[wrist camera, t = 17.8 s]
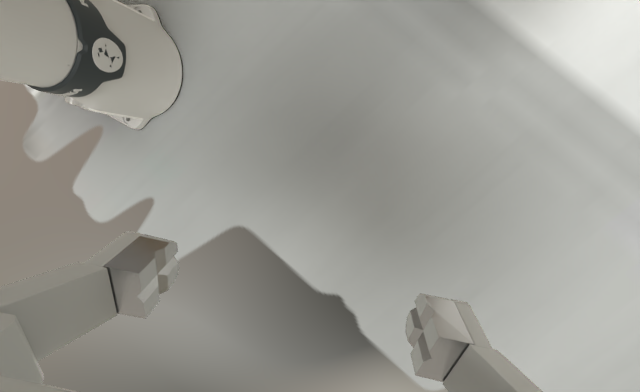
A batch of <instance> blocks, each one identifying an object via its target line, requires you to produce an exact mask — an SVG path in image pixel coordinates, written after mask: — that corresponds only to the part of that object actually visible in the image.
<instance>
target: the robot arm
mask: <svg viewBox="0 0 640 392" xmlns="http://www.w3.org/2000/svg"><path fill="white" fill-rule="evenodd" d="M0 80H2V81H8V82H14V83H20V84H25V85H28V86H30V87H31V88H33V89H36V90H39V91H43V92H46V93H50V94H53V95H58V96H65V102H67V103H69V104H72V105H75V106H80V108H82V109H85V110H89V111H93V112H97V113H103V114H106V115H108V116H110V117H112V118H114V119H115V120H117V121H119V122H121V123H123V124H125V125H126V126H128V127H130V128H132V129H137V130H140V129H142V128H143V127H144V126H145V125H146V124H147V123H148V121H149V120H150V119H151V118H153V117H155V116H157V115H159V114H161V113H163V112H165V111H166V110H167V109H168V108H169V107H170V106H171V105H172V104H173V102H174V101H175V99H176V97H177V95H178V92H179V90H180V86H181V81H182V65H181V59H180V55H179V52H178V50H177V47H176V45H175V44H174V42H173V40H172V39H171V37H170V36H169V35H168V34H167V33H166V31H165V30H164V29H163V27H162V26H161V23H160V20H159V17H158V15H157V12H156V11H155V9H154V8H153V7H151V6H149V5H146V4H134V5H125V4H123V3H121V2H119V1H117V0H0ZM177 252H178V247H177V243H176V242H174V241H171V240H167V239H162V238H158V237H154V236H150V235H146V234H145V235H144V234H140V233H136V232H131V231H129V232H125V233H123V234H122V235H120V236H119V237H118V238H117V239H115V240H114V241H112V242H111V243H110V244H108V245H107V246H106V247H104V248H103V249H102V250H100V251H99V252H98V253H96V254H95V255H94V256H92V257H91V258H90V259H88V260H87V261H86V262H85V263H82V262H77V263H73V264H70V265H67V266H64V267H61V268H58V269H55V270H51V271H48V272H45V273H42V274H39V275H36V276H33V277H30V278H26V279H23V280H20V281H17V282H14V283H11V284H7V285H4V286H1V287H0V392H78V391H73V390H68V389H63V388H58V387H54V386H49V385H43V384H41V383H42V382H43V381H44V374H43V372H42V370H41V368H40V366H39V364H38V361H40V360H41V359H43V358H45V357H46V356H48V355H50V354H52V353H53V352H55V351H57V350H58V349H60V348H62V347H64V346H65V345H67V344H69V343H71V342H72V341H74V340H75V339H77V338H79V337H81V336H82V335H84V334H86V333H88V332H89V331H91V330H93V329H95V328H96V327H98V326H100V325H101V324H103V323H105V322H107V321H108V320H110V319H112V318H113V317H115V316H117V314H123V315H128V316H134V317H139V318H145V319H146V318H147V317H148V315H149V314H150V313H151V311H152V310H153V309H154V308H155V307H156V305H157V304H158V302H160V297H159V295H160V294H161V293H164V292H166V291H168V290H169V288H170V287H171V286H172V285H173V283H174V281H175V279H176V277H177V275H178V270H179V262H178V260H177V259H176V258H175V257H174V255H175V254H176V253H177ZM415 304H416V308H414V309H412V310H411V311H410V312H409V315H408V317H407V321H406V335H407V340H408V342H409V343H410V344H411V345H412V346H413V350H412V352H411V358H412V362H413V367H414V371H415V375H416V376H420V377H425V378H429V379H433V380H437V381H441V382H443V385H444V386H445V388H446V389H447V390H448V392H543V391H542V390H541V389H539V388H538V387H537V386H536V385H535V384H534V383H533V382H532V381H531V380H530V379H529V378H527V377H526V376H525V375H524V374H523V373H522V372H521V371H520V370H519V369H518V368H517V367H515V366H514V365H513V364H512V363H511V362H510V361H509V360H508V359H507V358H506V357H505V356H503V355H502V354H501V353H500V352H499V351H498V350H495V349H492V347H491V345H490V343H489V341H488V339H487V337H486V335H485V333H484V331H483V329H482V328H481V326H480V324H479V322H478V320H477V318H476V316H475V314H474V312H473V310H472V308H471V306H470V305H469V304H468V303H467V302H462V301H457V300H452V299H451V300H450V299H446V298H441V297H436V296H431V295H426V294H422V293H421V294H419V295H418V296H417V298H416V300H415Z"/></svg>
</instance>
